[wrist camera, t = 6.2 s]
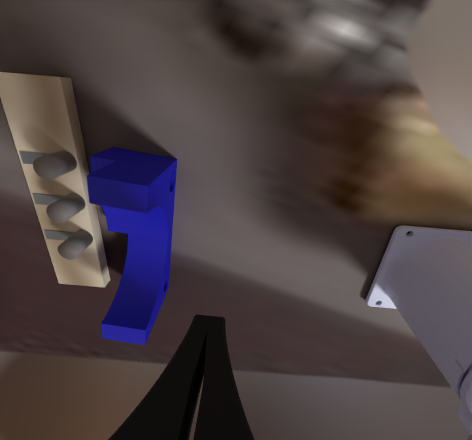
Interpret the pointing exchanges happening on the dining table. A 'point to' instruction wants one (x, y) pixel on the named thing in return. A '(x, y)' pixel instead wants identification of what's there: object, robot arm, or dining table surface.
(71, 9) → the dining table surface
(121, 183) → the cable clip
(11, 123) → the coat hook rack
